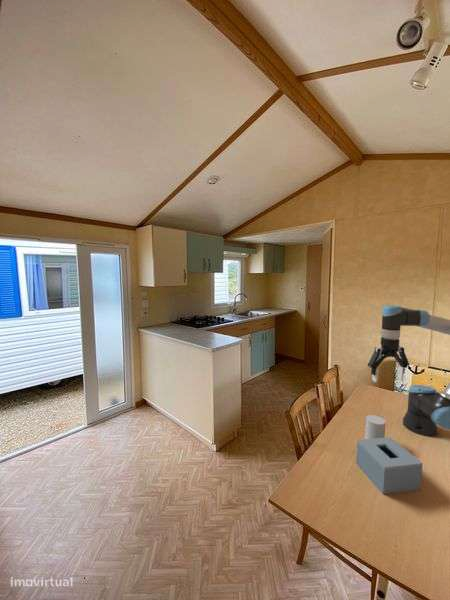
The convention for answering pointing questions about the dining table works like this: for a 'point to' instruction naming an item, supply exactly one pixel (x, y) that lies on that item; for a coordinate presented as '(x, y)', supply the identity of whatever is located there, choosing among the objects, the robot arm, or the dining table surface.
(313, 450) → the dining table surface
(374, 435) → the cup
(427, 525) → the dining table surface
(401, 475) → the coin box
